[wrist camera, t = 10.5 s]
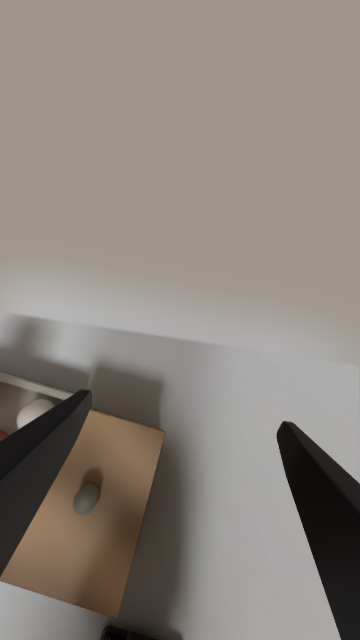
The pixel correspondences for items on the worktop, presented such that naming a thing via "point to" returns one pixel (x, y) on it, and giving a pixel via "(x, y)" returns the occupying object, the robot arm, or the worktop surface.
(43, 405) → the shiny white sphere
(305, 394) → the worktop surface
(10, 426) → the tray
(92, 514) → the lidded box
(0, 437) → the scoop cup
